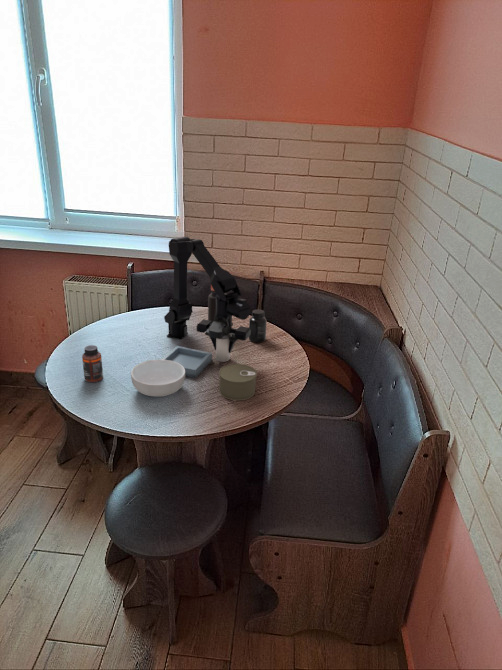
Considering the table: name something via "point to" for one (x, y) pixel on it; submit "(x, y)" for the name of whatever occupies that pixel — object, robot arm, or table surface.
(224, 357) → the shaker
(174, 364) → the cereal bowl
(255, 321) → the supplement bottle
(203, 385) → the table surface
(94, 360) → the supplement bottle
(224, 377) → the can
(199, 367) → the tray
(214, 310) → the vinegar
